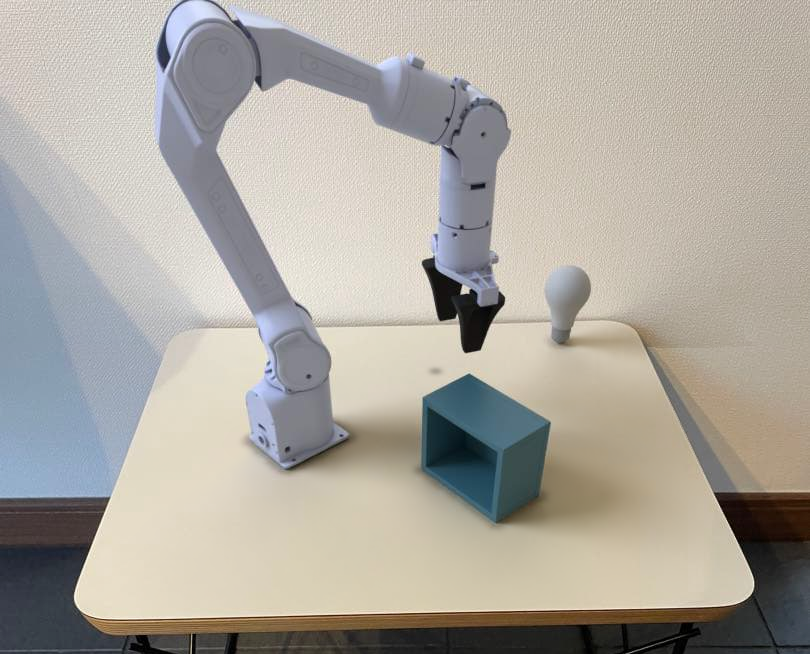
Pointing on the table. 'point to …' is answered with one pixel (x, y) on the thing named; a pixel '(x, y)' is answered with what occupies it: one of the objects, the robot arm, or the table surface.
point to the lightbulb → (566, 298)
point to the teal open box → (483, 446)
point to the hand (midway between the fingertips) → (459, 334)
